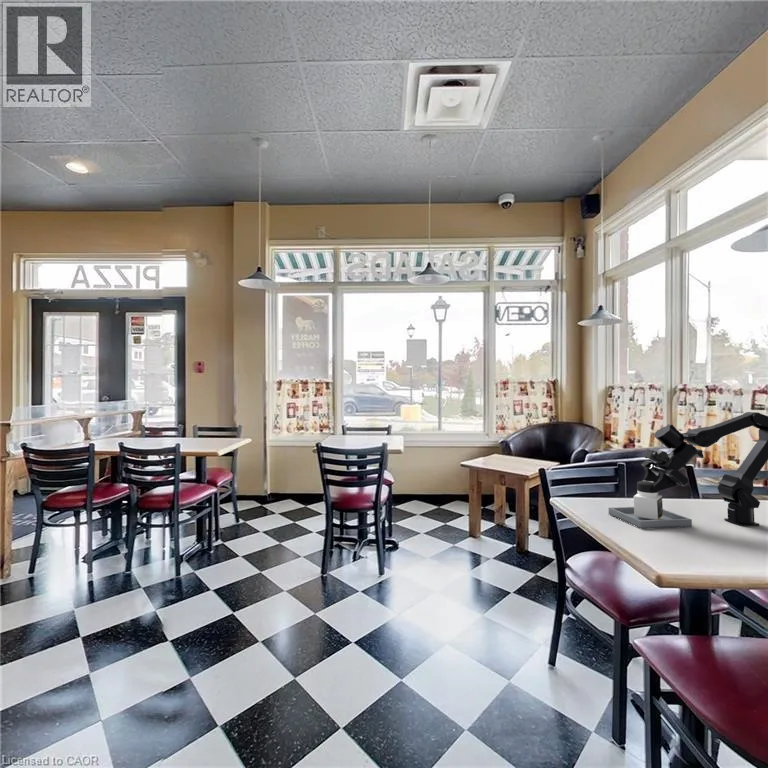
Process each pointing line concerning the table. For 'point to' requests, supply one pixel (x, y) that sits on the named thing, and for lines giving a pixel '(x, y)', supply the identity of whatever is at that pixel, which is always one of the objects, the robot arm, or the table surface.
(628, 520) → the tray
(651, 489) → the robot arm
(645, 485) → the medicine bottle
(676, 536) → the table surface
